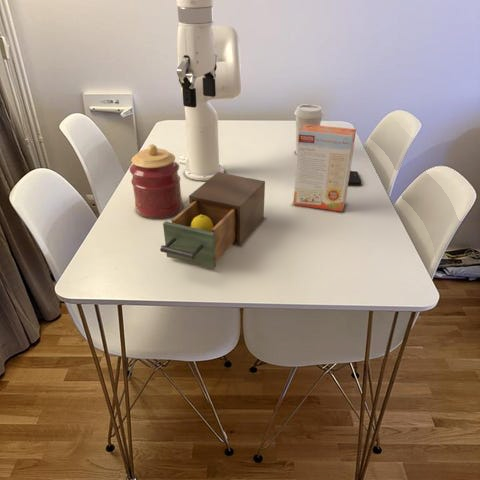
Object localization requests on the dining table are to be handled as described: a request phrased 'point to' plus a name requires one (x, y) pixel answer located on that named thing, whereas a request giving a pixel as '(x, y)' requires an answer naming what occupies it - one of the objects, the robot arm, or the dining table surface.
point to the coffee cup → (307, 117)
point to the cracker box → (323, 166)
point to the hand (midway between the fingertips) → (200, 101)
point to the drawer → (200, 234)
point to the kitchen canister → (156, 183)
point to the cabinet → (235, 200)
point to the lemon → (202, 223)
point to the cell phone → (354, 178)
